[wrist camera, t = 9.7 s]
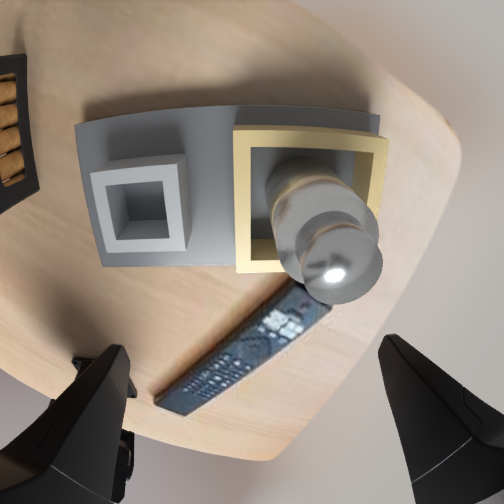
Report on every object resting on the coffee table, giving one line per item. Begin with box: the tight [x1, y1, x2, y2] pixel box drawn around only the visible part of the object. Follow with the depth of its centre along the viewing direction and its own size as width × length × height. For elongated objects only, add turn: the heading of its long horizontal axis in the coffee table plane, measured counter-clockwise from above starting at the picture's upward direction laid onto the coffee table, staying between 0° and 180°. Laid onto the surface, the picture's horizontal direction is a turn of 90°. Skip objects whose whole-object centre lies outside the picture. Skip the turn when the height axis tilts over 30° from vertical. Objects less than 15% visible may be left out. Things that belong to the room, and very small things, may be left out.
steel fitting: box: [265, 157, 383, 304], centre depth 13 cm, size 4×4×8 cm
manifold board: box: [75, 104, 389, 273], centre depth 16 cm, size 10×18×4 cm, turn 90°
